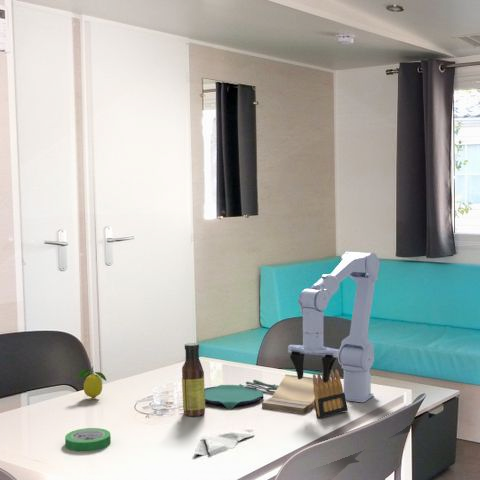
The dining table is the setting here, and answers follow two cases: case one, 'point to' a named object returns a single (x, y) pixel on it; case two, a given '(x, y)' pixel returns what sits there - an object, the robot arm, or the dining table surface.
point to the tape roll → (78, 443)
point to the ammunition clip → (329, 395)
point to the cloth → (220, 442)
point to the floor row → (287, 405)
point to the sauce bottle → (193, 382)
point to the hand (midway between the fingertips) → (313, 380)
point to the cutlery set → (236, 393)
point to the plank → (296, 389)
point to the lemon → (92, 383)
